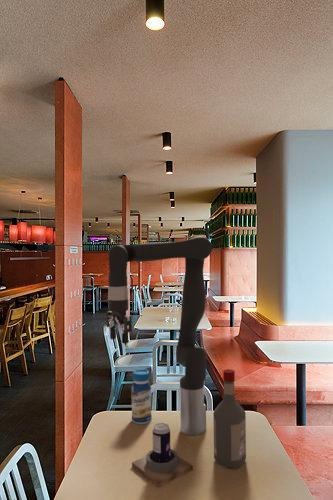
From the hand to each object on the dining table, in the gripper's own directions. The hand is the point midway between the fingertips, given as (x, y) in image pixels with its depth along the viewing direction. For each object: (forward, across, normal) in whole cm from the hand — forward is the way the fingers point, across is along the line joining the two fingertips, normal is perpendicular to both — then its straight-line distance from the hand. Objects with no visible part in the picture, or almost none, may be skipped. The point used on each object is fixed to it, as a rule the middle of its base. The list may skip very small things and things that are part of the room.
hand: (118, 341), depth 148 cm
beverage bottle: (+36, +6, -14) cm, 39 cm away
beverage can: (+35, -27, +1) cm, 44 cm away
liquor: (+36, -38, -19) cm, 56 cm away
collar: (+35, -27, +1) cm, 44 cm away
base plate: (+36, -27, +1) cm, 45 cm away
